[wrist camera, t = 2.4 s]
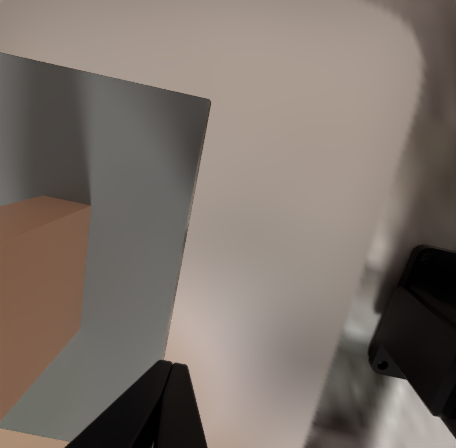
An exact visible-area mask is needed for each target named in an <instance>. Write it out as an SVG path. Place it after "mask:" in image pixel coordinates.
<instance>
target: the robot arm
mask: <svg viewBox="0 0 456 448" xmlns="http://www.w3.org/2000/svg"><path fill="white" fill-rule="evenodd" d="M427 253H428V257H427V259H426V260H424V261H421V260H422V257H423V255H425V254H427ZM368 361H369V364H370V366H371V367H372V369H373V370H374V371H375V372H376V373H378V374H382V375H387V376H391V377H396V378H401V379H406V380H407V381H408V382H409V384H410V385H411V386H412V388H413V389H414V391H415V392H416V393H417V395H418V396H419V398H420V399H421V400H422V402H423V403H424V405H425V406H426V407H427V409H428V410H429V412H430V413H431V414H432V415H433V416H437V417H440V418H441V420H442V421H443V422H444V424H445V425H446V427H447V428H448V429H449V431H450V432H451V433H452V435H453V436H454V437H455V439H456V251H452V250H448V249H443V248H438V247H434V246H429V245H420V246H417V247H416V248H415V249H413V251H412V252H411V254H410V257H409V259H408V262H407V264H406V267H405V269H404V272H403V274H402V277H401V279H400V282H399V284H398V287H397V288H396V289H395V290H394V293H393V295H392V297H391V300H390V302H389V305H388V307H387V310H386V312H385V315H384V317H383V320H382V322H381V325H380V327H379V330H378V332H377V339H376V341H375V344H374V346H373V349H372V351H371V354H370V356H369V360H368ZM381 361H383V363H381V364H378V363H379V362H381ZM152 447H153V448H207V443H206V439H205V435H204V431H203V427H202V423H201V419H200V414H199V411H198V407H197V402H196V398H195V394H194V390H193V386H192V382H191V378H190V374H189V369H188V366H187V365H185V364H180V363H174V364H172V362H171V361H165V360H158V361H157V362H156V363H155V364H154V365H153V366H151V367H150V368H149V369H148V370H147V371H146V372H145V373H144V374H143V375H142V376H141V377H140V378H139V379H138V380H136V381H135V382H134V383H133V384H132V385H131V386H130V387H129V388H128V389H127V390H126V391H125V392H124V393H122V394H121V395H120V396H119V397H118V398H117V399H116V400H115V401H114V402H113V403H112V404H111V405H110V406H109V407H107V408H106V409H105V410H104V411H103V412H102V413H101V414H100V415H99V416H98V417H97V418H96V419H95V420H94V421H92V422H91V423H90V424H89V425H88V426H87V427H86V428H85V429H84V430H83V431H82V432H81V433H80V434H79V435H77V436H76V437H75V438H74V439H73V440H72V441H71V442H70V443H69V444H68V445H67V446H66V447H65V448H152Z"/></svg>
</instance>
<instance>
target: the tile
mask: <svg viewBox="0 0 456 448" xmlns="http://www.w3.org/2000/svg"><path fill="white" fill-rule="evenodd" d="M90 213H91V205H86V204H81V203H77V202H72V201H67V200H63V199H58V198H53V197H49V196H44V195H42V196H39V197H35V198H31V199H27V200H23V201H19V202H15V203H11V204H7V205H3V206H0V421H1V420H2V419H3V418H4V416H5V415H6V414H7V413H8V412H9V411H10V410H11V408H12V407H13V406H14V405H15V404H16V403H17V401H18V400H19V399H20V398H21V397H22V396H23V394H24V393H25V392H26V391H27V390H28V389H29V388H30V386H31V385H32V384H33V383H34V382H35V381H36V379H37V378H38V377H39V376H40V375H41V374H42V372H43V371H44V370H45V369H46V368H47V367H48V366H49V364H50V363H51V362H52V361H53V360H54V359H55V357H56V356H57V355H58V354H59V353H60V352H61V350H62V349H63V348H64V347H65V346H66V345H67V344H68V342H69V341H70V340H71V339H72V338H73V337H74V335H75V334H76V333H77V332H78V331H79V330H80V323H81V312H82V301H83V290H84V279H85V268H86V257H87V246H88V235H89V224H90Z"/></svg>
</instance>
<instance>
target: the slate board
mask: <svg viewBox="0 0 456 448" xmlns="http://www.w3.org/2000/svg"><path fill="white" fill-rule="evenodd" d="M210 106H211V101H210V100H209V99H206V98H201V97H197V96H192V95H188V94H183V93H179V92H174V91H170V90H166V89H161V88H157V87H152V86H148V85H143V84H139V83H134V82H130V81H125V80H121V79H116V78H111V77H107V76H103V75H99V74H94V73H90V72H85V71H81V70H76V69H72V68H67V67H63V66H58V65H54V64H49V63H45V62H40V61H36V60H32V59H27V58H22V57H18V56H14V55H9V54H5V53H0V206H3V205H7V204H11V203H15V202H19V201H23V200H27V199H31V198H35V197H39V196H42V195H44V196H49V197H53V198H58V199H63V200H67V201H72V202H77V203H81V204H86V205H91V213H90V224H89V235H88V246H87V257H86V268H85V279H84V290H83V301H82V312H81V323H80V330H79V331H78V332H77V333H76V334H75V335H74V337H73V338H72V339H71V340H70V341H69V342H68V344H67V345H66V346H65V347H64V348H63V349H62V350H61V352H60V353H59V354H58V355H57V356H56V357H55V359H54V360H53V361H52V362H51V363H50V364H49V366H48V367H47V368H46V369H45V370H44V371H43V372H42V374H41V375H40V376H39V377H38V378H37V379H36V381H35V382H34V383H33V384H32V385H31V386H30V388H29V389H28V390H27V391H26V392H25V393H24V394H23V396H22V397H21V398H20V399H19V400H18V401H17V403H16V404H15V405H14V406H13V407H12V408H11V410H10V411H9V412H8V413H7V414H6V415H5V416H4V418H3V419H2V420H1V421H0V428H2V429H7V430H13V431H18V432H22V433H27V434H32V435H37V436H42V437H48V438H53V439H58V440H63V441H68V442H71V441H72V440H73V439H74V438H75V437H76V436H77V435H79V434H80V433H81V432H82V431H83V430H84V429H85V428H86V427H87V426H88V425H89V424H90V423H91V422H92V421H94V420H95V419H96V418H97V417H98V416H99V415H100V414H101V413H102V412H103V411H104V410H105V409H106V408H107V407H109V406H110V405H111V404H112V403H113V402H114V401H115V400H116V399H117V398H118V397H119V396H120V395H121V394H122V393H124V392H125V391H126V390H127V389H128V388H129V387H130V386H131V385H132V384H133V383H134V382H135V381H136V380H138V379H139V378H140V377H141V376H142V375H143V374H144V373H145V372H146V371H147V370H148V369H149V368H150V367H151V366H153V365H154V364H155V363H156V362H157V361H158V360H164V356H165V350H166V345H167V339H168V334H169V328H170V323H171V318H172V312H173V307H174V301H175V296H176V290H177V285H178V280H179V274H180V268H181V263H182V258H183V252H184V247H185V242H186V236H187V231H188V226H189V220H190V215H191V209H192V204H193V198H194V193H195V187H196V182H197V177H198V171H199V166H200V160H201V155H202V149H203V144H204V139H205V133H206V128H207V122H208V117H209V111H210Z"/></svg>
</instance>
